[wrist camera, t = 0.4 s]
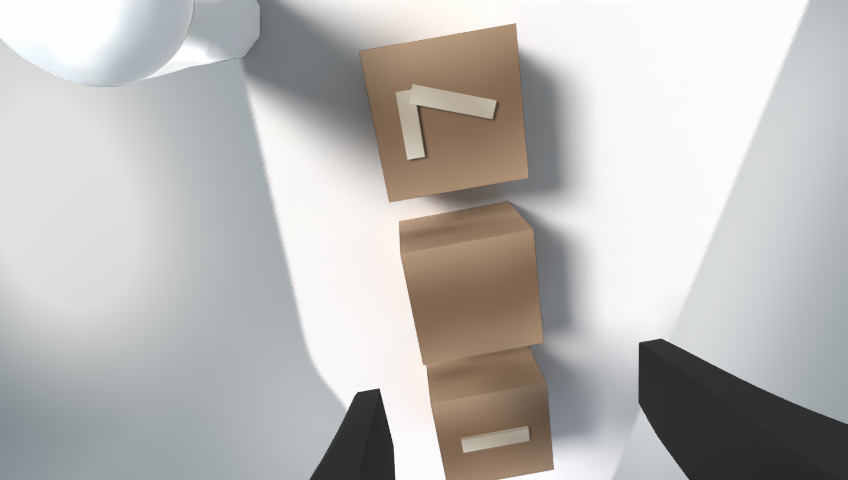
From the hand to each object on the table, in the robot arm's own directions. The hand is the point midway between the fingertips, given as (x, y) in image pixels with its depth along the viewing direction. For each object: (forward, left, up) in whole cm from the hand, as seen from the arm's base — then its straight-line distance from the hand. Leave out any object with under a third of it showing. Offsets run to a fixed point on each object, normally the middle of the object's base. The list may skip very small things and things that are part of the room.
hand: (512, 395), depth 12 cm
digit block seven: (+7, 0, -10) cm, 12 cm away
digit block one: (-7, 0, -10) cm, 12 cm away
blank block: (0, 0, -10) cm, 10 cm away
